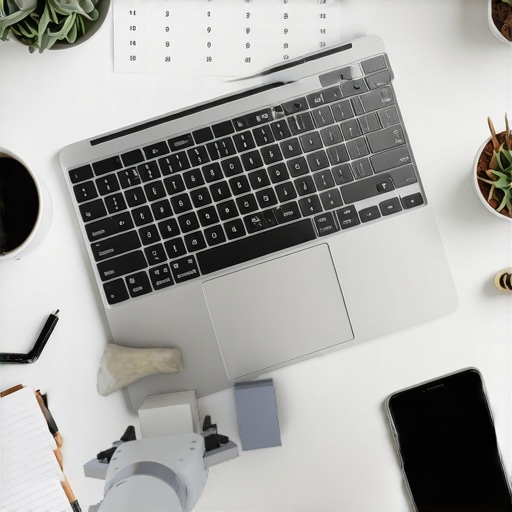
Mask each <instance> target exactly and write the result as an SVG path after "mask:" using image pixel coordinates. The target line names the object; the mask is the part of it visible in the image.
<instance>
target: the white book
mask: <svg viewBox="0 0 512 512" xmlns="http://www.w3.org/2000/svg"><path fill="white" fill-rule="evenodd" d="M137 414H138V421H139V428H140V434H141V439H147V438H154V437H162V436H170V435H178V434H187V433H196V428H195V421H194V414H193V407H192V400H191V399H187V400H180V401H172V402H164V403H156V404H149V405H142V404H141V405H139V408H138V409H137Z"/></svg>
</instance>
